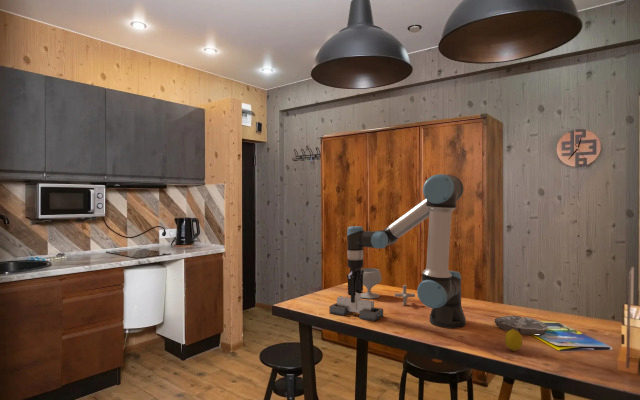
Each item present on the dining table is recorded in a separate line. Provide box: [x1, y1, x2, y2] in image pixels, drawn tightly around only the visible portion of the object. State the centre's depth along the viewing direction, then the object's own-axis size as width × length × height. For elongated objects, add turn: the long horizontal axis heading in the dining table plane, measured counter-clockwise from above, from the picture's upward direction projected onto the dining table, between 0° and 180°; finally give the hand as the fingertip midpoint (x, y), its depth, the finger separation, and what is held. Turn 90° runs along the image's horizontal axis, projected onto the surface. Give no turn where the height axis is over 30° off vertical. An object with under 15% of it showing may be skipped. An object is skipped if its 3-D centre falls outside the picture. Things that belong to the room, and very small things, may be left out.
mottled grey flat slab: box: [494, 315, 549, 336], centre depth 159 cm, size 20×17×3 cm
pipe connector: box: [394, 284, 416, 306], centre depth 196 cm, size 10×10×10 cm
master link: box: [336, 295, 375, 314], centre depth 180 cm, size 18×4×6 cm, turn 58°
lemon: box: [504, 329, 523, 352], centre depth 135 cm, size 6×6×8 cm
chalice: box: [360, 267, 382, 300], centre depth 214 cm, size 14×14×15 cm
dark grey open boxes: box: [329, 302, 384, 322], centre depth 180 cm, size 24×9×4 cm, turn 58°
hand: (355, 307), depth 180 cm, fingers closed on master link, 3 cm apart
